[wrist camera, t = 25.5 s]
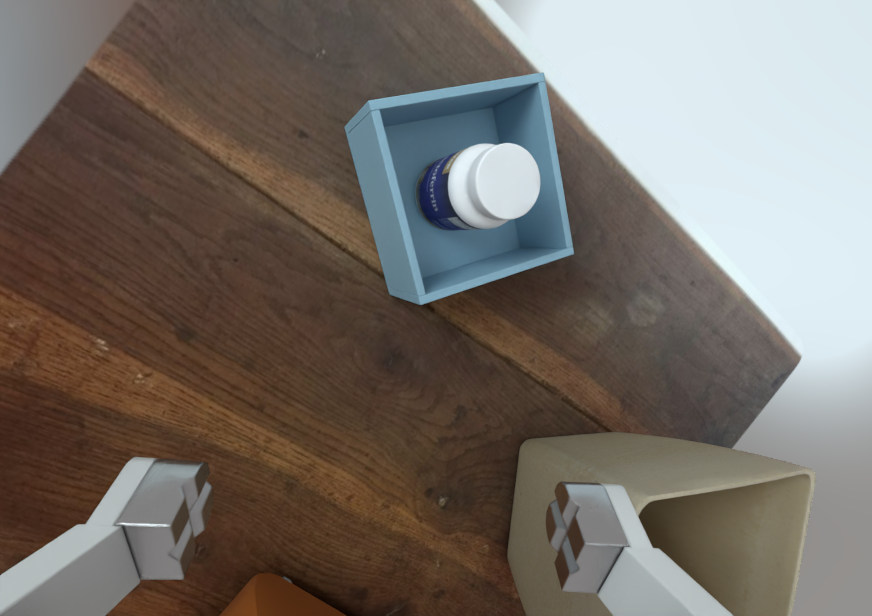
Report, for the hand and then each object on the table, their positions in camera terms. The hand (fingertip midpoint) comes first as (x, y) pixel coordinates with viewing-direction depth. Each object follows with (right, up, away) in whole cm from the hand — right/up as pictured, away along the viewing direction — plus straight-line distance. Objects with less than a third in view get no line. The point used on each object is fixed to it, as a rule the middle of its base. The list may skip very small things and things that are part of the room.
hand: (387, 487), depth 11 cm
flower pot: (+14, -15, +37) cm, 42 cm away
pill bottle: (+2, +13, +27) cm, 30 cm away
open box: (+2, +14, +27) cm, 31 cm away
